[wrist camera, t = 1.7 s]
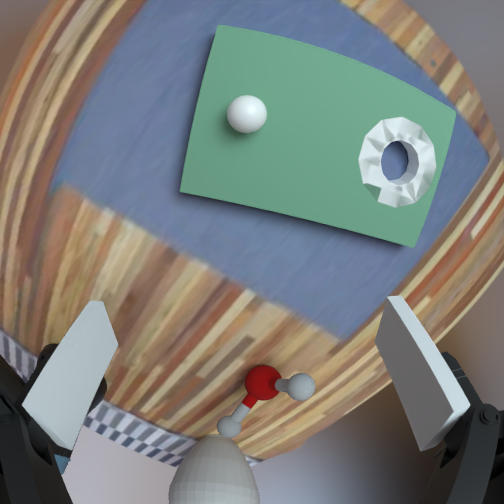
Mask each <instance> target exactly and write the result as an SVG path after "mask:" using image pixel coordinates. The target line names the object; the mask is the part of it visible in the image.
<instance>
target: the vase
mask: <svg viewBox="0 0 504 504" xmlns="http://www.w3.org/2000/svg"><path fill="white" fill-rule="evenodd" d="M259 503H260V501H259V492H258V489H257V486H256V482H255V479H254V475H253V473H252V470H251V468H250V466H249V464H248V462H247V460H246V458H245V457H244V455H243V453H242V452H241V450H240V449H239V447H238V446H237V445H236V444H235V443H234V441H233V440H232V439H231V438H226V437H224V436H222V435H216V434H212V435H207V436H204V437H203V438H202V440H200V441H199V442H197V443H196V444H195V445H194V446H193V448H192V449H191V450H190V451H189V453H188V454H187V455H186V456H185V458H184V459H183V461H182V462H181V463H180V465H179V467H178V469H177V471H176V474H175V476H174V478H173V480H172V482H171V485H170V488H169V504H259Z"/></svg>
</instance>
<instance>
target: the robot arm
mask: <svg viewBox="0 0 504 504" xmlns="http://www.w3.org/2000/svg"><path fill="white" fill-rule="evenodd" d="M375 343H376V346H377V348H378V350H379V352H380V354H381V356H382V359H383V361H384V363H385V365H386V367H387V370H388V372H389V374H390V377H391V379H392V381H393V383H394V386H395V388H396V390H397V393H398V395H399V397H400V400H401V402H402V405H403V407H404V410H405V412H406V415H407V417H408V420H409V422H410V425H411V427H412V430H413V433H414V435H415V437H416V441H417V443H418V446H419V448H420V451H424V450H426V449H429V448H432V447H435V446H437V445H438V444H439V443H440V442H441V440H442V439H443V438H444V441H445V443H446V444H445V445H444V446H443V447H442V448H441V449H440V451H438V452H437V454H436V455H435V458H437V457H438V456H439V455H440V454H441V455H440V457H439V460H438V463H437V465H436V468H435V470H434V473H433V475H432V478H431V480H430V483H429V485H428V487H427V489H426V491H425V493H424V496H423V498H422V500H421V502H420V504H504V410H503V411H498V410H497V409H496V408H495V407H494V406H492V405H490V404H483V403H482V401H481V400H480V398H479V396H478V395H477V393H476V391H475V390H474V388H473V386H472V384H471V383H470V381H469V379H468V378H467V377H466V375H465V373H464V371H463V370H461V367H460V365H459V363H458V362H457V360H456V359H455V358H454V357H453V356H451V355H450V354H449V353H448V352H444V353H440V352H439V351H438V349H437V347H436V346H435V344H434V343H433V341H432V340H431V338H430V337H429V335H428V334H427V332H426V331H425V329H424V328H423V326H422V325H421V323H420V322H419V320H418V319H417V317H416V316H415V315H414V313H413V312H412V310H411V309H410V307H409V306H408V305H407V303H406V302H405V300H404V299H403V298H402V296H390V297H387V299H386V303H385V307H384V311H383V314H382V318H381V322H380V325H379V329H378V332H377V335H376V339H375ZM117 347H118V342H117V340H116V337H115V334H114V332H113V329H112V326H111V324H110V321H109V318H108V315H107V312H106V309H105V306H104V303H103V301H89V303H88V304H87V305H86V307H85V308H84V309H83V311H82V312H81V314H80V315H79V316H78V318H77V319H76V321H75V322H74V323H73V325H72V326H71V328H70V329H69V330H68V332H67V333H66V335H65V336H64V338H63V339H62V341H61V342H60V344H49V345H47V346H45V347H44V349H43V350H42V352H41V353H40V355H39V357H38V361H37V366H36V369H35V370H34V373H32V375H31V377H30V378H29V379H30V380H28V381H27V383H26V382H25V381H24V380H23V379H22V378H21V377H20V376H19V375H18V374H17V373H16V372H15V371H14V370H13V368H12V367H11V366H10V365H9V364H8V363H7V362H6V360H5V359H4V358H3V357H2V356H1V355H0V504H73V503H72V500H71V498H70V496H69V493H68V491H67V489H66V486H65V484H64V481H63V479H62V476H61V475H62V474H63V473H64V471H65V469H66V467H67V465H68V462H69V461H70V457H71V454H72V451H73V448H74V446H75V443H76V440H77V437H78V435H79V432H80V430H81V427H82V424H83V422H84V420H85V417H86V416H87V415H88V414H89V413H90V412H91V411H92V410H93V409H94V408H95V407H96V406H97V405H98V404H99V403H100V402H101V401H102V399H103V397H104V395H105V393H106V390H107V384H106V381H105V379H104V377H103V376H104V374H105V372H106V369H107V367H108V365H109V363H110V361H111V359H112V357H113V355H114V353H115V351H116V349H117Z"/></svg>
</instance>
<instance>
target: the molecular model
mask: <svg viewBox="0 0 504 504" xmlns="http://www.w3.org/2000/svg"><path fill="white" fill-rule="evenodd" d="M245 387H246V390H247V392H248V394H247V395H246V397H245V398H244V399H243V401H242V402H241V403H240V404H239V406H238V407H237V408H236V409H235V411H234V412H233V413H232V414H231V416H224V417H222V418H221V419H220V420H219V421H218V423H217V430H218V432H219V433H220V434H221V435H222V436H224V437H226V438H232V437H235V436H237V435H238V434H239V433H240V431H241V423H240V422H241V421H242V420H243V418H244V417H245V416H246V415H247V413H248V412H249V411H250V410H251V408H252V407H253V406H254V405H255V403H256V402H257V401H258V400H269V399H272V398H274V397H275V396H276V395H277V394H278V393H279V392H280V391H282V392H287V393H288V395H289V396H290V397H291V398H293V399H294V400H298V401H302V400H306V399H308V398H310V397H311V396H312V394H313V393H314V391H315V382H314V380H313V378H312V377H311V376H309V375H308V374H305V373H298V374H295V375H293V376H292V377H291V378H290V379H281V376H280V374H279V372H278V371H277V370H276V369H274V368H273V367H270V366H267V365H261V366H257V367H255V368H253V369H252V370H250V371H249V373H248V374H247V376H246V379H245Z"/></svg>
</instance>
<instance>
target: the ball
mask: <svg viewBox="0 0 504 504" xmlns="http://www.w3.org/2000/svg"><path fill="white" fill-rule="evenodd" d="M227 119H228V122H229V124H230V125H231V126H232V127H233V128H234V129H235V130H237V131H239V132H242V133H252V132H255V131H257V130H259V129H260V128H261V127H262V126H263V125H264V123H265V121H266V119H267V110H266V107H265V105H264V103H263V102H262V101H261V100H260V99H258V98H257V97H254V96H250V95H244V96H240V97H238V98H236V99H234V100H233V101H232V102H231V103H230V105H229V107H228V110H227Z"/></svg>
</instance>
